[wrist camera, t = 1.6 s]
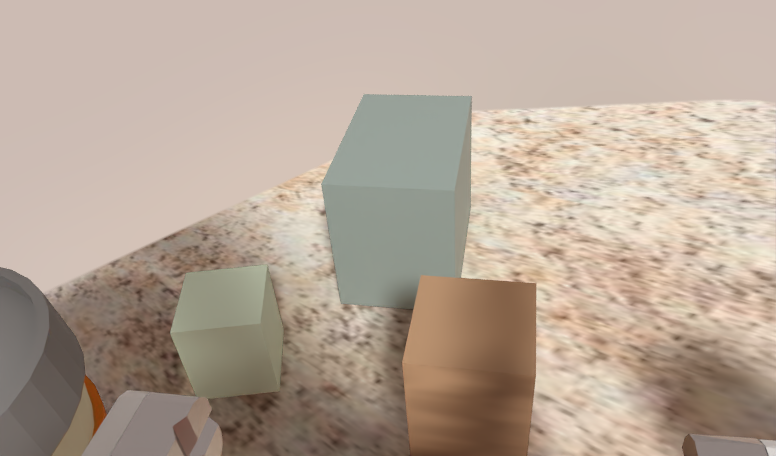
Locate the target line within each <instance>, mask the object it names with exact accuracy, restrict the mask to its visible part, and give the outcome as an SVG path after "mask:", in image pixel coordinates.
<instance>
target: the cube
mask: <svg viewBox="0 0 776 456" xmlns="http://www.w3.org/2000/svg"><path fill="white" fill-rule="evenodd" d="M170 334H171V337H172V339H173V342H174V344H175V347H176V349H177V351H178V354H179V356H180V359H181V361H182V364H183V366H184V368H185V371H186V373H187V376H188V378H189V381H190V383H191V385H192V388H193V390H194V393H195V395H196V396H197V397H207V399H214V398H223V397H232V396H241V395H251V394H260V393H269V392H278V391H280V379H281V365H282V352H283V338H284V329H283V325H282V321H281V317H280V313H279V309H278V305H277V301H276V297H275V293H274V289H273V285H272V281H271V277H270V273H269V269H268V265H267V264H266V265H256V266H246V267H237V268H227V269H218V270H208V271H199V272H189V273H186V275H185V278H184V282H183V286H182V290H181V293H180V297H179V301H178V305H177V308H176V312H175V316H174V320H173V323H172V327H171V331H170Z"/></svg>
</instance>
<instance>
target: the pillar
mask: <svg viewBox="0 0 776 456" xmlns="http://www.w3.org/2000/svg"><path fill="white" fill-rule="evenodd" d="M402 368H403V379H404V390H405V401H406V412H407V424H408V435H409V446H410V456H527V451H528V442H529V433H530V423H531V414H532V405H533V396H534V387H535V378H536V283H523V282H509V281H495V280H481V279H467V278H453V277H440V276H426V275H421V277H420V281H419V286H418V291H417V295H416V300H415V305H414V309H413V314H412V319H411V323H410V328H409V333H408V337H407V342H406V347H405V351H404V356H403V361H402Z"/></svg>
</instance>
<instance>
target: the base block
mask: <svg viewBox="0 0 776 456" xmlns="http://www.w3.org/2000/svg"><path fill="white" fill-rule="evenodd" d="M471 104H472V96H426V95H369V94H365V95H363V97H362V100H361V102H360V104H359V106H358V108H357V110H356V112H355V114H354V116H353V119H352V121H351V123H350V125H349V127H348V129H347V131H346V134H345V136H344V138H343V140H342V142H341V144H340V146H339V148H338V151H337V153H336V155H335V157H334V159H333V161H332V163H331V165H330V167H329V169H328V171H327V174H326V176H325V178H324V180H323V182H322V184H321V185H322V191H323V198H324V204H325V210H326V216H327V222H328V228H329V234H330V240H331V246H332V252H333V258H334V264H335V270H336V276H337V283H338V289H339V295H340V301H341V304H353V305H366V306H378V307H390V308H402V309H414V305H415V300H416V295H417V291H418V286H419V281H420V277H421V275H426V276H440V277H453V278H461V272H462V265H463V258H464V251H465V244H466V237H467V230H468V223H469V216H470V209H471V113H472V108H471V107H472V105H471Z"/></svg>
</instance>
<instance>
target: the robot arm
mask: <svg viewBox="0 0 776 456" xmlns="http://www.w3.org/2000/svg"><path fill="white" fill-rule="evenodd" d="M211 410H212V408H211V406H210V404H209V402H208V399H207V397H197V396H186V395H176V394H165V393H155V392H146V391H133V390H127V391H125V392H124V393H123V394H121V395H120V396H119V397H118V398H117V400H116V401H115V403H114V405H113V406H112V408H111V409H110V411H109V413H108V414H107V416H106V417H105V419H104V420H103V422H102V424H101V425H100V427H99V428H98V430H97V431H96V433H95V435H94V436H93V438H92V439H91V441H90V443H89V444H88V446H87V447H86V449H85V450H84V452H83V454H82V455H81V456H221V453H222V447H223V440H222V432H221V430H220V427H219V425H218V424H217V423H216V422H215V421H213V420H212V419H211V418H209V415H210V413H211ZM682 449H683V453H684V456H776V440H761V439H756V438H748V437H732V436H716V435H700V434H688V435H687V436H686V437H685V440H684V443H683V446H682Z"/></svg>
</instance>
